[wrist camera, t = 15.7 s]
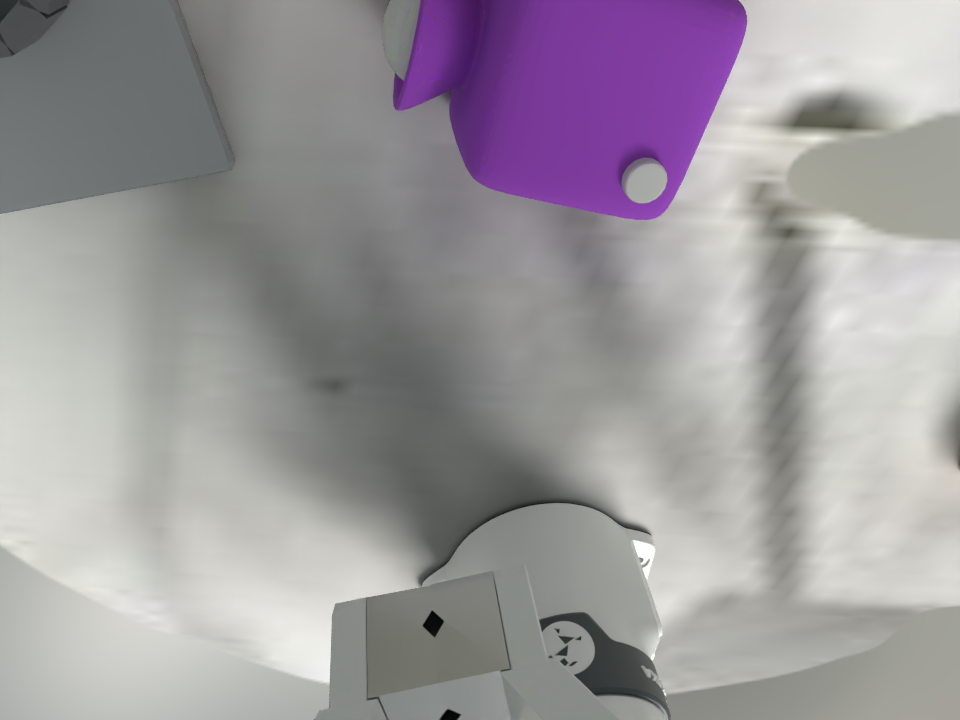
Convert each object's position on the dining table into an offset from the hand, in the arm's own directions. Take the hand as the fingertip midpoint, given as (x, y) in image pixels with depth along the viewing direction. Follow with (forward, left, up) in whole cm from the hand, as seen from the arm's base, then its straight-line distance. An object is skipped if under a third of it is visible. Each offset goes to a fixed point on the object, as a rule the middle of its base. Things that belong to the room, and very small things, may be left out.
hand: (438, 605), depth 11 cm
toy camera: (+1, -7, -29) cm, 30 cm away
